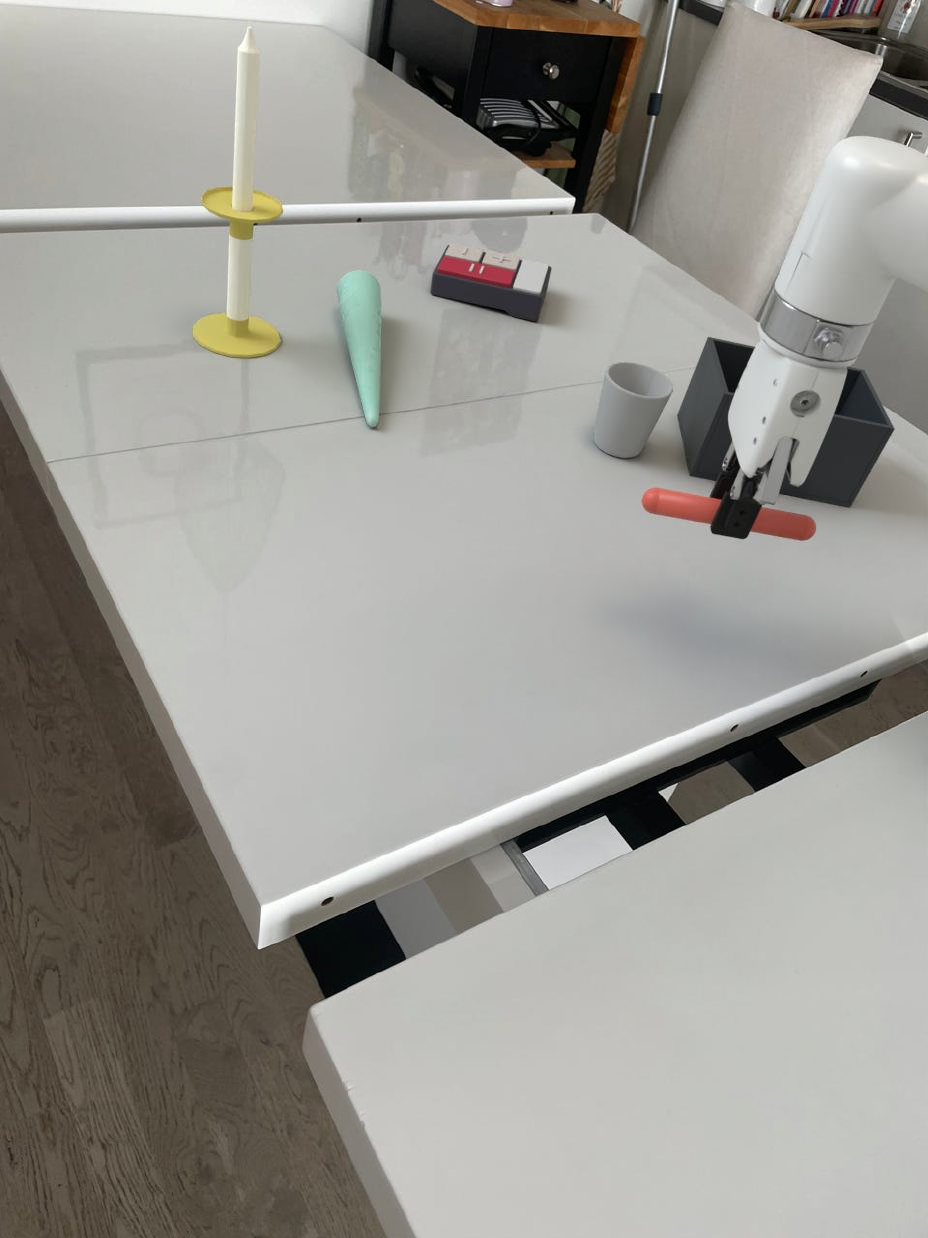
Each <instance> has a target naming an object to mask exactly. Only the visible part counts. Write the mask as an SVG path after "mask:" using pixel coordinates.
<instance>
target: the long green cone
mask: <svg viewBox="0 0 928 1238" xmlns="http://www.w3.org/2000/svg"><path fill="white" fill-rule="evenodd" d="M336 294H337V295H336V296H337V300H338V307H339V312H340V317H341V321H342V326H343V331H344V335H345V338H346V343H347V347H348V353H349V356H350V360H351V365H352V369H353V372H354V378H355V382H356V387H357V390H358V394H359V398H360V402H361V406H362V410H363V414H364V418H365V421H366V424H367V426H369V427H370V428H375V427H377V426H378V424H379V420H380V418H379V417H380V403H381V402H380V401H381V397H380V396H381V360H382V359H381V358H382V357H381V355H382V354H381V353H382V291H381V285H380V283H379V281H378V279H377V278H376V276H375V275H373V274H372V273H370V272H368V271H365V270H361V269H357V270H352V271H349V272H347V273H346V274H344V275H343V276H342V277H341V278H340V279H339V281H338V283H337V287H336Z"/></svg>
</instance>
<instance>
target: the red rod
mask: <svg viewBox="0 0 928 1238" xmlns="http://www.w3.org/2000/svg"><path fill="white" fill-rule="evenodd" d="M721 501H722V500H721V499H715V498H710V496H703V495H699V494H694V493H688V492H684V491H683V492H682V491H676V490H671V489H665V488H660V487H652V488H651V487H650V488H649V489H648V490H647V489H646V491H645V492H644V493H643V495H642V496H641V505H642V508H643V509H644V511H646V512H647V513H648V514H652V515H657V516H663V517H668V518H674V519H680V520H685V521H690V522H695V523H701V524H707V525H711V524H712V521H713V519H714V517H715V514H716V512H717V510H718V507H719V505H720V503H721ZM816 532H817V523H816V521H815V520H814V518H812V517H811V516H810V515H807V514H803V513H796V512H791V511H785V510H781V509H774V508H769V507H764V506H762V507H761V510H760V512H759V514H758V516H757V518H756V520H755V522H754V524H753V527H752V529H751V531H750V533H755V534H761V535H768V536H773V537H779V538H784V539H789V540H795V541H801V542H805V541H808V540H810V539H812V538H813V537H814V536H815V534H816Z"/></svg>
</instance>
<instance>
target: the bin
mask: <svg viewBox="0 0 928 1238" xmlns="http://www.w3.org/2000/svg"><path fill="white" fill-rule="evenodd" d="M755 347H756V346H753V345H749V344H745V343H739V342H735V341H730V340H726V339H720V338H716V337H711V336H707V338H706V341H705V343H704V345H703V347H702V351H701V353H700V356H699V358H698V361H697V364H696V366H695V368H694V371H693V373H692V376H691V379H690V381H689V384H688V386H687V389H686V392H685V394H684V397H683V399H682V402H681V403H680V404H681V405H680V406H679V409H678V413H677V414H676V415H677V421H678V426H679V430H680V435H681V441H682V445H683V449H684V454H685V459H686V463H687V464H686V465H687V469H688V474H689V476H691V477H695V478H701V479H705V480H711V481H715V482H716V481H717V478H718V476H719V474H720V471H722V472H727V471H725V470H723V461H724V458H725V456H726V454H727V452H728V449H729V447H730V445H731V441H732V437H731V433H730V429H729V424H728V413H729V409H730V406H731V403H732V400H733V397H734V394H735V392H736V389H737V387H738V384H739V382H740V380H741V377H742V375H743V373H744V370H745V368H746V366H747V364H748V362H749V359H750V357H751V355H752V353H753V351H754V349H755ZM866 372H867V371H866V370H865V369H863V368H857V367H852V366H848V367H847V375H846V379H845V382H844V386H843V389H842V392H841V395H840V398H839V401H838V404H837V407H836V410H835V412H834V415H833V418H832V420H831V423H830V425H829V427H828V430H827V432H826V435H825V437H824V439H823V442H822V444H821V446H820V449H819V451H818V453H817V456H816V458H815V460H814V462H813V464H812V467H811V469H810V471H809V473H808V475H807V477H806V479H805V481H804V482H803V484H802V485H800V486H798V487H797V486H793V485H792V484H790V481H789V479H788V476H787V473H786V471H785V474H784V478H783V481H782V485H781V488H780V492H779V494H780V495H787V496H791V497H797V498H800V499H807V500H811V501H816V502H822V503H826V504H832V505H835V506H836V505H837V506H840V507H841V506H842V507H846V508H851V507H852V505H853V503H854V502H855V500H856V498H857V496H858V495H859V493H860V491H861V490H862V488H863V486H864V485H865V483H866V481H867V479H868V477H869V475H870V473H871V472H872V470H873V468H874V467H875V465H876V463H877V461H878V460H879V458H880V456H881V454H882V452H883V451H884V449H885V447H886V446H887V444H888V442H889V440H890V439H891V437H892V435H893V433H894V431H895V430H896V428H895V426H894V424H893V423H892V420H891V418H890V417H889V415H888V412H887V411H886V409H885V407H884V406H883V405H884V404H883V403H882V401H881V399H880V398H879V395H878V393H877V392H876V390H875V388H874V386H873V384H872V382H871V379H870V378H869V376H868V373H866ZM755 478H757V479H758V483H760V482H761V479H762V478H758V477H755Z"/></svg>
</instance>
